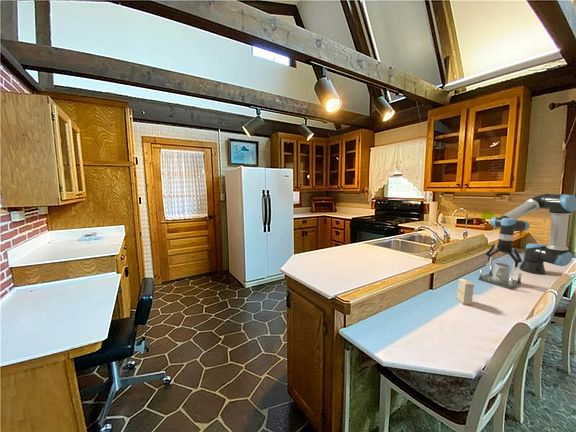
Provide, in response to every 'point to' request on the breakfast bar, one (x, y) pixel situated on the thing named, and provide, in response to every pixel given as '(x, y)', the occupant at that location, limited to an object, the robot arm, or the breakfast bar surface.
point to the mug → (501, 272)
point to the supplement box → (465, 291)
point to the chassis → (506, 284)
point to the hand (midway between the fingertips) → (501, 267)
